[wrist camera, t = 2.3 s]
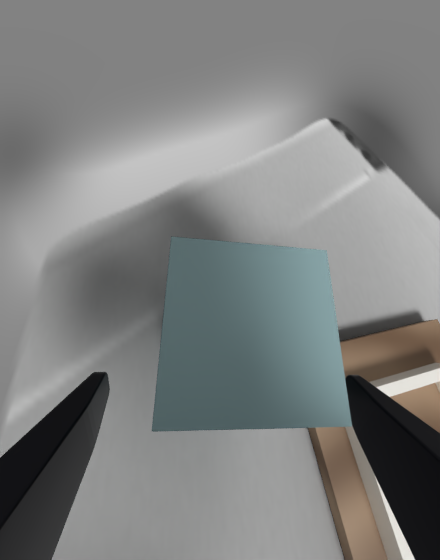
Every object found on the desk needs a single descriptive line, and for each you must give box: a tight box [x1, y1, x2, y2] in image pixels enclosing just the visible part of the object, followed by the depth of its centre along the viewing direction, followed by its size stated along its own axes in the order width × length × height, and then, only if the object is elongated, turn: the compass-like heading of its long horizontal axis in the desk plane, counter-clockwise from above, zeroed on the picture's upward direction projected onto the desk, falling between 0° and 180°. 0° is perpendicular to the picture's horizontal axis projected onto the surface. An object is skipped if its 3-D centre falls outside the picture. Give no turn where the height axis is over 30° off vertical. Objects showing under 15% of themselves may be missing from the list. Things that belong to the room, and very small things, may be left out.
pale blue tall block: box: [152, 236, 352, 431], centre depth 12 cm, size 5×5×12 cm
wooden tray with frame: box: [308, 319, 440, 560], centre depth 16 cm, size 16×14×3 cm
